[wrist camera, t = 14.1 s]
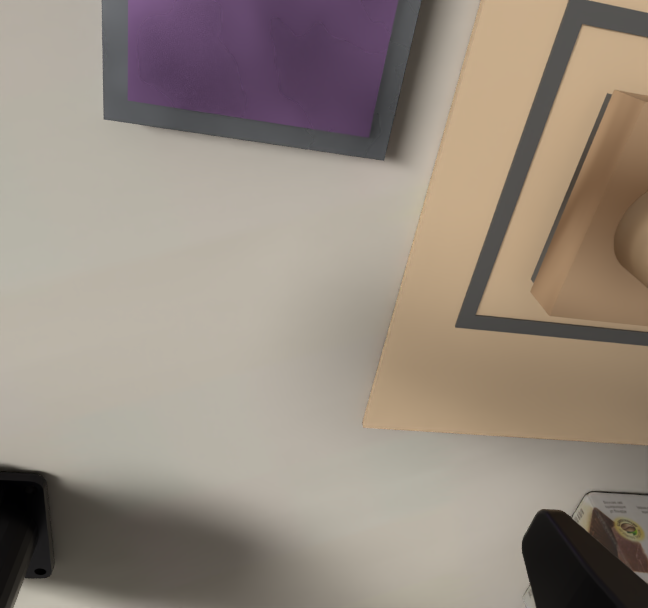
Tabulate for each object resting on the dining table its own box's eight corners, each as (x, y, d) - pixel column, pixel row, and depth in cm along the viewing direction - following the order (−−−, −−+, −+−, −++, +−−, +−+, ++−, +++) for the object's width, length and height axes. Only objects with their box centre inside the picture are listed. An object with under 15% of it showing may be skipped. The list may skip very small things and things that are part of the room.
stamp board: (653, 441, 27) (658, 447, 27) (362, 422, 24) (363, 429, 24) (1025, -144, 16) (1042, -146, 15) (561, -286, 13) (568, -291, 13)
